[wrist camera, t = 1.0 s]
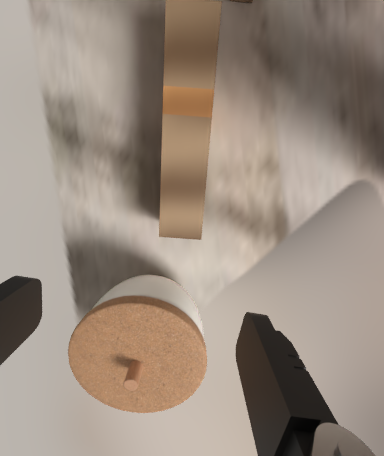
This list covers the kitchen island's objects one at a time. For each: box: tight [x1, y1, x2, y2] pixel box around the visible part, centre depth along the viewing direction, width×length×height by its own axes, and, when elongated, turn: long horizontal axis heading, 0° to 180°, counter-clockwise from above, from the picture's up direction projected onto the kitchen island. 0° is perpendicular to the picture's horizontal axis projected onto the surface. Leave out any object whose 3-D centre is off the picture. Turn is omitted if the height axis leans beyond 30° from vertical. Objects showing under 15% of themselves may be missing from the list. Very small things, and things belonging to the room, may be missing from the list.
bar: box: [159, 0, 222, 240], centre depth 20 cm, size 18×4×5 cm, turn 176°
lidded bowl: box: [68, 275, 207, 413], centre depth 22 cm, size 13×13×11 cm
